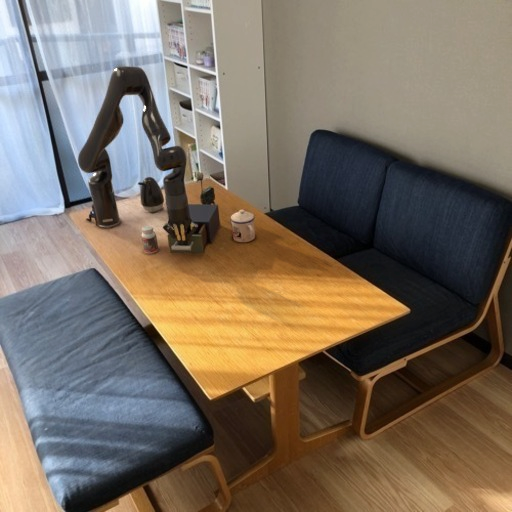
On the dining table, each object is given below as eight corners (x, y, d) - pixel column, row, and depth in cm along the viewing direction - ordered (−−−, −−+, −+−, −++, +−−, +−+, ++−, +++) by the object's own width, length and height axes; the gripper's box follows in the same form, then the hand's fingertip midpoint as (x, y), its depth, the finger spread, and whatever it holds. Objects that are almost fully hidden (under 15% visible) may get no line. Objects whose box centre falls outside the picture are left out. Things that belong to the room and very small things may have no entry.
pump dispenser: (137, 210, 228) (131, 178, 220) (157, 202, 234) (152, 171, 226) (150, 216, 221) (144, 183, 214) (170, 209, 227) (165, 176, 220)
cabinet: (211, 243, 197) (208, 221, 192) (176, 242, 199) (173, 221, 194) (220, 225, 210) (218, 204, 205) (187, 224, 212) (184, 204, 208)
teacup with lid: (228, 236, 201) (225, 209, 195) (248, 230, 205) (246, 203, 199) (243, 248, 192) (241, 220, 186) (264, 241, 195) (262, 213, 190)
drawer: (199, 261, 183) (197, 243, 180) (165, 260, 186) (162, 242, 182) (212, 235, 200) (210, 218, 197) (181, 234, 202) (178, 217, 199)
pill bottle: (143, 254, 192) (138, 231, 187) (145, 247, 197) (141, 224, 192) (157, 253, 192) (153, 230, 187) (159, 246, 197) (155, 224, 192)
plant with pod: (222, 213, 220) (217, 168, 210) (198, 220, 215) (193, 175, 205) (212, 207, 226) (208, 163, 216) (190, 214, 221) (184, 170, 211)
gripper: (198, 199, 178) (204, 243, 187) (162, 199, 181) (169, 242, 189) (192, 209, 172) (199, 253, 181) (155, 208, 174) (163, 252, 183)
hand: (183, 248), depth 185 cm, fingers closed
